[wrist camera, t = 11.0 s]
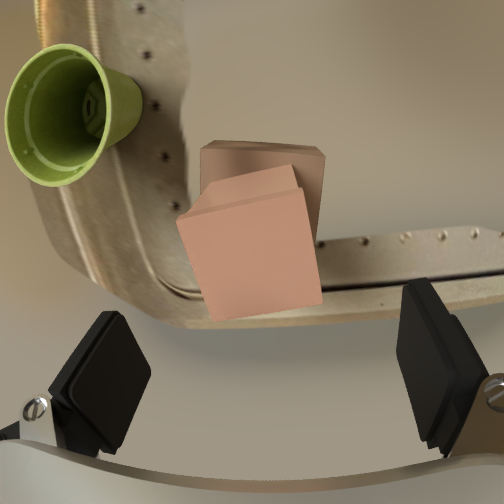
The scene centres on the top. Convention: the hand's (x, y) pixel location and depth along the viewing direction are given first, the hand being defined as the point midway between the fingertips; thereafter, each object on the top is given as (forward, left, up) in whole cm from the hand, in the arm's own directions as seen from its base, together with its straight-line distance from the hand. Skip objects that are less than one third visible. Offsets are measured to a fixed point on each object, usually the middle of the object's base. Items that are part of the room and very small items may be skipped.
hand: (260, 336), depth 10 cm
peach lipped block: (+1, 0, -13) cm, 13 cm away
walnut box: (+1, 0, -18) cm, 18 cm away
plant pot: (+12, -10, -18) cm, 23 cm away
